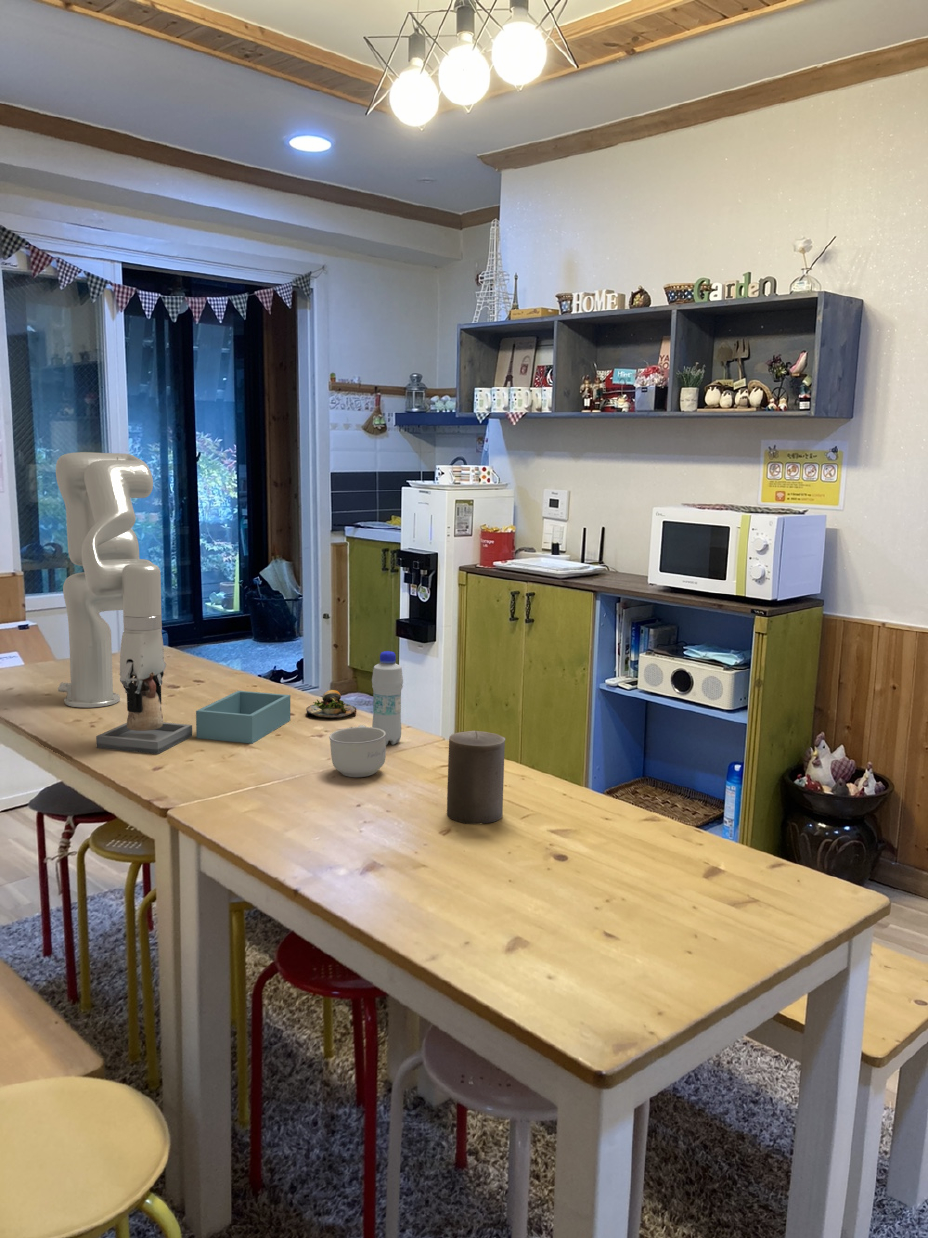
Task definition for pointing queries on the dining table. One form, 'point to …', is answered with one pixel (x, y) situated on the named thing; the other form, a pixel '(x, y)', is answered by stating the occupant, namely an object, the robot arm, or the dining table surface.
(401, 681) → the bottle
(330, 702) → the burger
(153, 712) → the figurine
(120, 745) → the tray
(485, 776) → the pillar candle
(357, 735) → the teacup
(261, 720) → the tub
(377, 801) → the dining table surface
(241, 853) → the dining table surface
